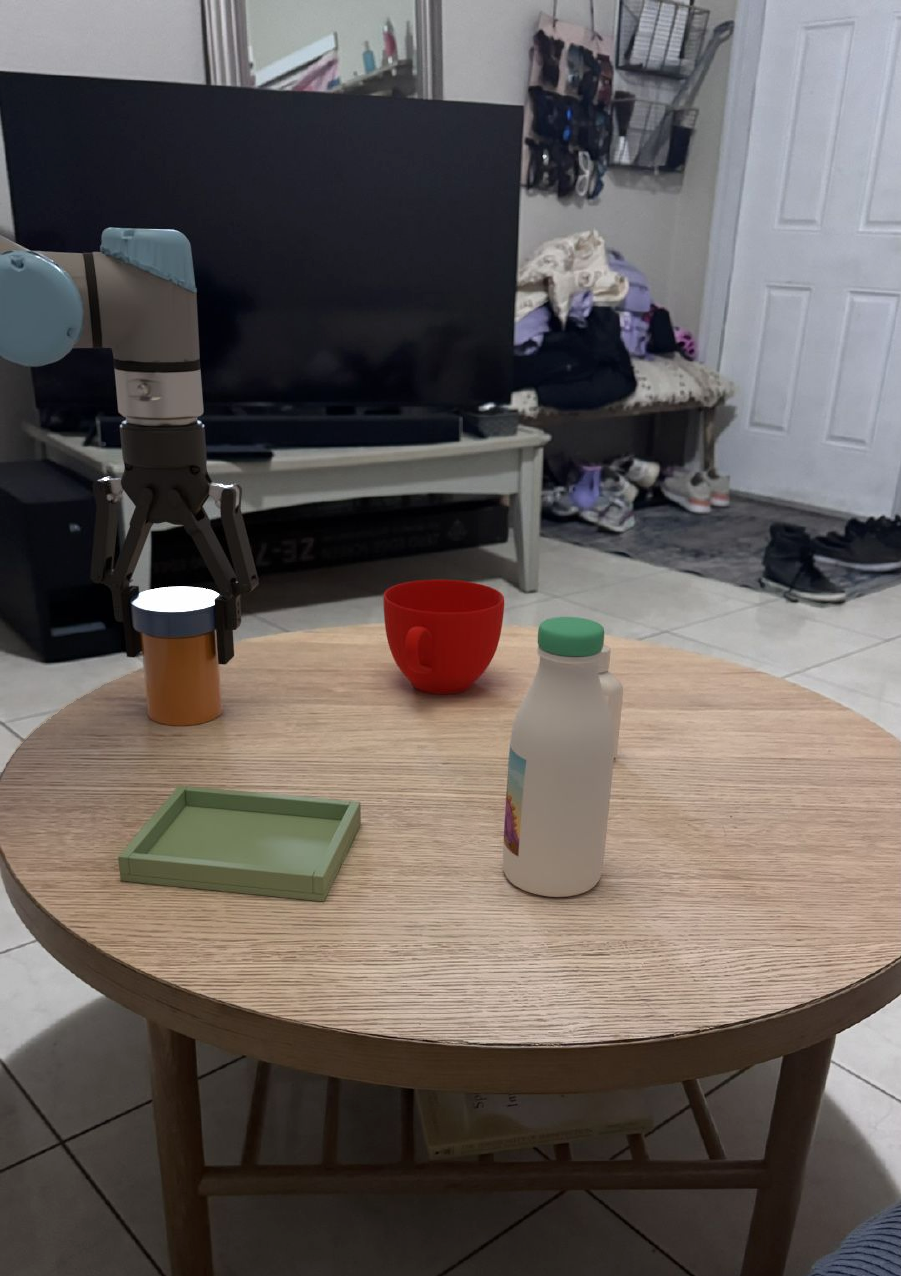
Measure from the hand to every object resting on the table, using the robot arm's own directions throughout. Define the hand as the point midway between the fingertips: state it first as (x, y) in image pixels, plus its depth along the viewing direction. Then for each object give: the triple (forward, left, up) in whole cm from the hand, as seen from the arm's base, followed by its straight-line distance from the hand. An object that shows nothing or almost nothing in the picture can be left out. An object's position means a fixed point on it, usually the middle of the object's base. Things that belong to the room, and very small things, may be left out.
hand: (180, 656), depth 112 cm
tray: (+15, -27, -6) cm, 31 cm away
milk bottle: (+39, -26, -6) cm, 47 cm away
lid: (0, 0, +6) cm, 6 cm away
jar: (0, 0, -6) cm, 6 cm away
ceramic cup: (+24, +12, -6) cm, 28 cm away
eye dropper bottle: (+41, -2, -6) cm, 41 cm away
